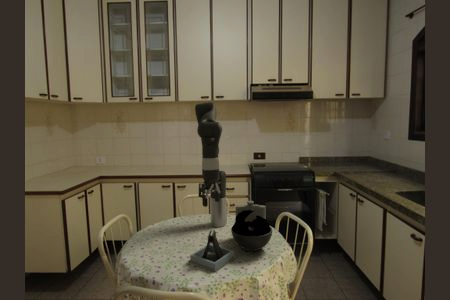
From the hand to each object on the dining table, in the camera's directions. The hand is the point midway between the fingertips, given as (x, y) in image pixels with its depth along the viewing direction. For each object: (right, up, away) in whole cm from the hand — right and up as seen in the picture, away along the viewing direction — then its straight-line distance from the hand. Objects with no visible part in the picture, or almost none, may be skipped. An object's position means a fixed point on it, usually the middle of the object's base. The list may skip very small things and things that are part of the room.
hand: (211, 203), depth 123 cm
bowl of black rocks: (+19, -25, +14) cm, 34 cm away
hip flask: (+20, -24, +27) cm, 41 cm away
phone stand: (0, -25, +3) cm, 25 cm away
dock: (0, -26, +2) cm, 26 cm away
